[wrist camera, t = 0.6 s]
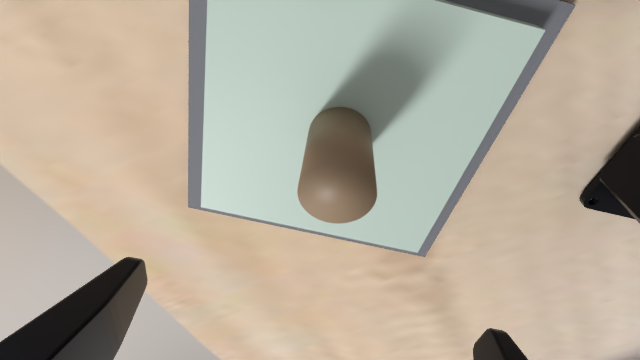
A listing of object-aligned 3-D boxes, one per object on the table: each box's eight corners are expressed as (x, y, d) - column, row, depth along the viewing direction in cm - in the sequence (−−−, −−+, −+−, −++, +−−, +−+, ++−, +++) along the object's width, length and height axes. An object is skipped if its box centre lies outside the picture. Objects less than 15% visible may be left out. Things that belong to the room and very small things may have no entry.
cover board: (536, 25, 14) (615, 69, 10) (415, 243, 22) (431, 320, 18) (215, -62, 13) (153, -52, 9) (205, 198, 21) (168, 269, 17)
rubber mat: (569, 2, 14) (575, 5, 14) (423, 251, 23) (424, 256, 23) (194, -101, 13) (189, -102, 13) (191, 201, 22) (188, 207, 22)
